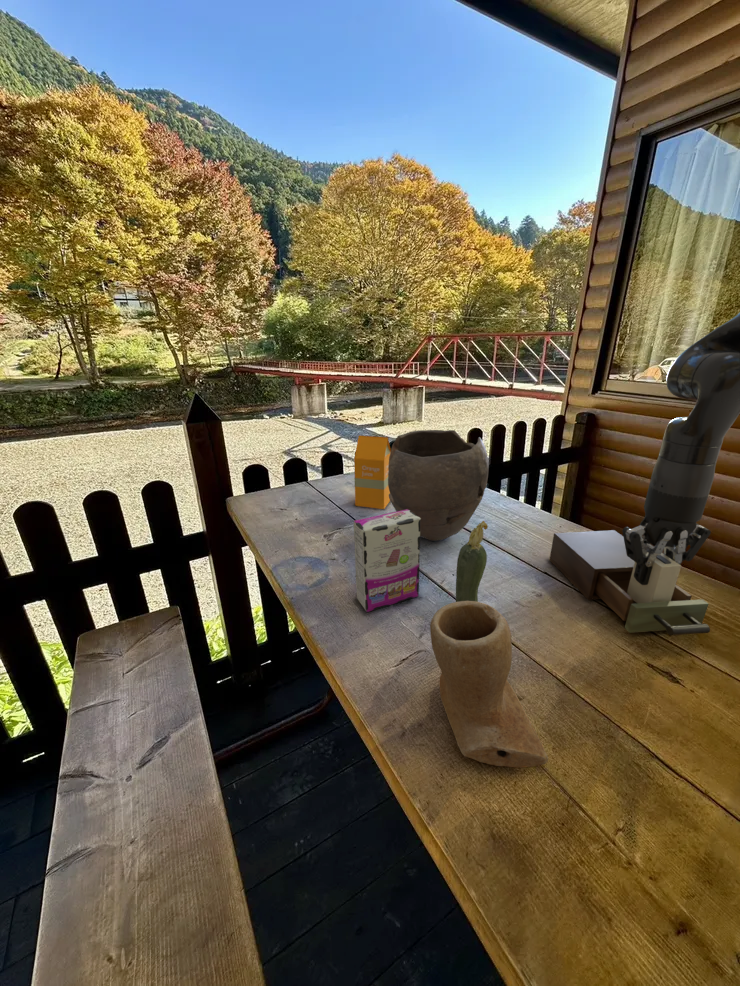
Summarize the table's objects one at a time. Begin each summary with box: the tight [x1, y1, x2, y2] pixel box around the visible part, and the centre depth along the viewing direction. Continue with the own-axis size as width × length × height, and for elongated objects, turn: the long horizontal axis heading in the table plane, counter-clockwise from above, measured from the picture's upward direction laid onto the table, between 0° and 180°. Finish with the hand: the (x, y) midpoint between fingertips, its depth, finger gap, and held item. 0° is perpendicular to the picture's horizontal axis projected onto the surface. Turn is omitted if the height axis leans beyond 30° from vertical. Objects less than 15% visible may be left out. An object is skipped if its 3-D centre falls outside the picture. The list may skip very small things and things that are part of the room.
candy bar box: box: [353, 509, 421, 613], centre depth 74 cm, size 11×5×16 cm, turn 115°
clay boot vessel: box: [429, 601, 549, 769], centre depth 50 cm, size 15×12×15 cm
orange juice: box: [353, 434, 391, 510], centre depth 117 cm, size 8×9×20 cm
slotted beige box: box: [627, 552, 682, 603], centre depth 69 cm, size 3×6×9 cm, turn 5°
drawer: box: [594, 571, 711, 636], centre depth 70 cm, size 18×12×5 cm
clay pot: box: [388, 429, 490, 542], centre depth 96 cm, size 24×24×25 cm
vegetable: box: [455, 520, 489, 602], centre depth 65 cm, size 4×4×20 cm
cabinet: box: [549, 529, 635, 601], centre depth 82 cm, size 15×14×7 cm
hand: (652, 581), depth 69 cm, fingers closed on slotted beige box, 3 cm apart
